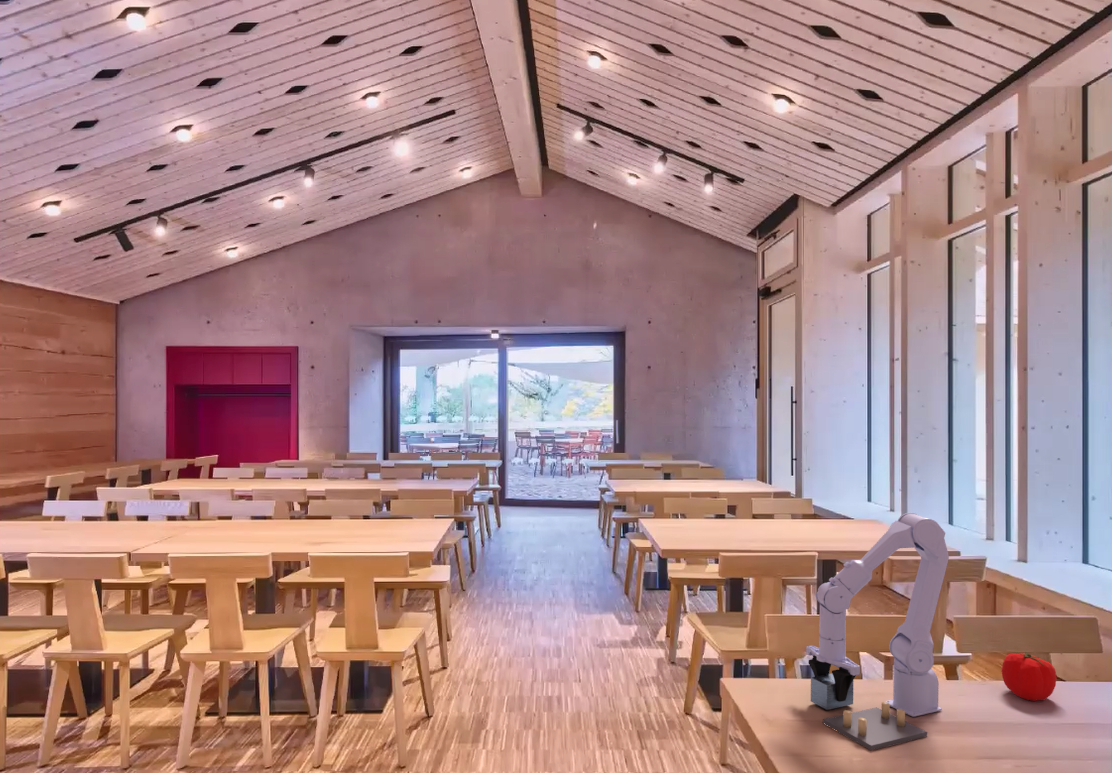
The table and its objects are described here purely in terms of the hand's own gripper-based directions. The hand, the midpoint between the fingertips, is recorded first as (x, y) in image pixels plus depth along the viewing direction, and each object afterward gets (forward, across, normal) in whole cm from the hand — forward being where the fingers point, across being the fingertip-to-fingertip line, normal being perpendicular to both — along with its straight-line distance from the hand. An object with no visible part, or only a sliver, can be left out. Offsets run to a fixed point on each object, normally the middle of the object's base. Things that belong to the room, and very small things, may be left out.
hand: (831, 695), depth 168 cm
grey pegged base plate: (+2, +13, -1) cm, 13 cm away
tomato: (+3, +14, +49) cm, 51 cm away
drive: (+2, 0, 0) cm, 2 cm away
